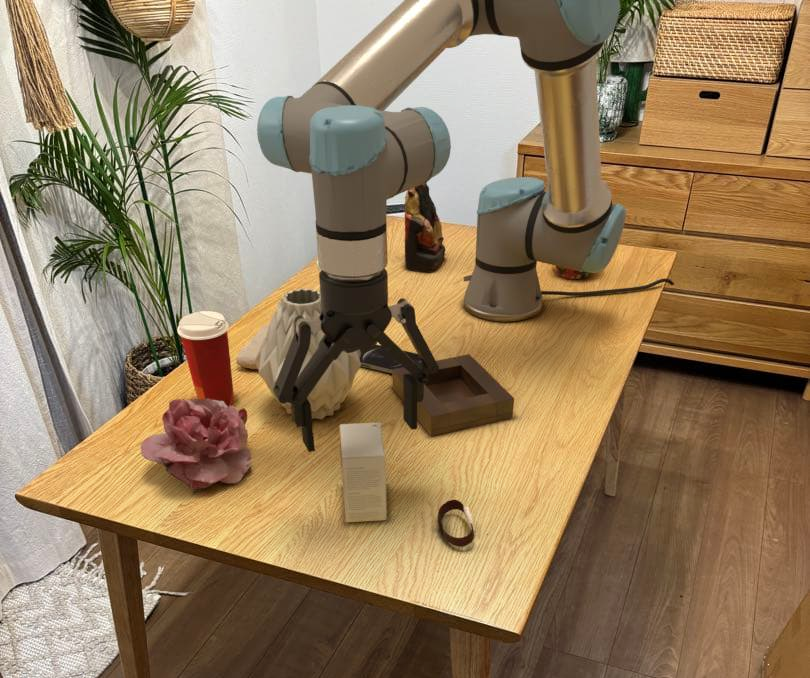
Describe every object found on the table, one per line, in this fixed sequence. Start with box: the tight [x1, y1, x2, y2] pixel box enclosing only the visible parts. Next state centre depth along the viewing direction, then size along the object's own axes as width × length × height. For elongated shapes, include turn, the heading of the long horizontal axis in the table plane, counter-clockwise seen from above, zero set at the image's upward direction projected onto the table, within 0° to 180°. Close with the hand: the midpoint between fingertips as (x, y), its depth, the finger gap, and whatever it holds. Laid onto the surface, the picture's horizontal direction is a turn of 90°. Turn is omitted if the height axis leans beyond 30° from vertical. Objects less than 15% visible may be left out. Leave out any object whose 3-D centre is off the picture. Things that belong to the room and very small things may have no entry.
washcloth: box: [236, 322, 270, 370], centre depth 140 cm, size 12×18×3 cm, turn 164°
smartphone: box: [359, 343, 422, 374], centre depth 138 cm, size 8×1×15 cm
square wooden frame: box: [391, 353, 515, 437], centre depth 126 cm, size 14×16×4 cm
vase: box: [255, 287, 362, 420], centre depth 121 cm, size 16×16×18 cm
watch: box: [437, 499, 477, 548], centre depth 101 cm, size 8×5×4 cm, turn 12°
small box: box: [338, 422, 387, 523], centre depth 104 cm, size 8×6×10 cm
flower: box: [140, 397, 252, 490], centre depth 111 cm, size 15×15×10 cm
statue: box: [404, 182, 446, 273], centre depth 167 cm, size 12×8×20 cm, turn 154°
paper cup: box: [176, 310, 235, 407], centre depth 124 cm, size 8×8×14 cm
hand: (360, 435), depth 100 cm, fingers open, 13 cm apart
